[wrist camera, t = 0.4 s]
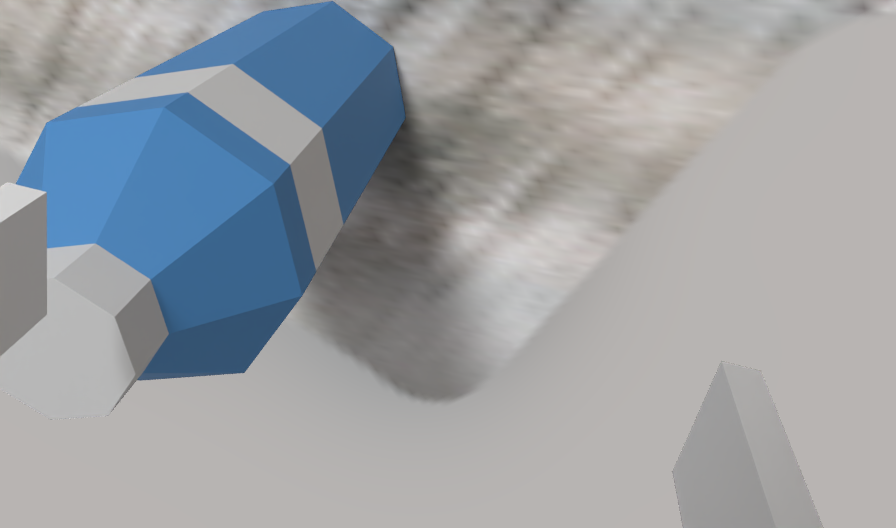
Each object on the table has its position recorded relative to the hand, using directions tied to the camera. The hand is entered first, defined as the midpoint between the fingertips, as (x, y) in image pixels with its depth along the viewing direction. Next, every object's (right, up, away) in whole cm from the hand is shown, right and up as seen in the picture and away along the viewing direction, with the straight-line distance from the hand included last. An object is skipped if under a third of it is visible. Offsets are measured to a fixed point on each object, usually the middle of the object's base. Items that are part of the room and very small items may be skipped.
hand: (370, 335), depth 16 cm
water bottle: (-5, +10, +27) cm, 29 cm away
